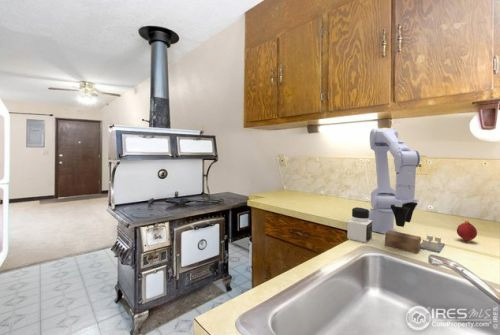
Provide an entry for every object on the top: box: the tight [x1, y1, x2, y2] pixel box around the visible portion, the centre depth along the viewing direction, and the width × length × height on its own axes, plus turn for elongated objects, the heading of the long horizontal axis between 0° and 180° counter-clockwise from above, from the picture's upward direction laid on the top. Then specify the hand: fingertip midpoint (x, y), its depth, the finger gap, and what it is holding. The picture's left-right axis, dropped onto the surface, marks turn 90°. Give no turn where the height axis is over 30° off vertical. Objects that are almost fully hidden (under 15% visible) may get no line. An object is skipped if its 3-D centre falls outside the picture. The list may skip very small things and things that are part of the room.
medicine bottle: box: [347, 206, 373, 244], centre depth 98 cm, size 7×7×12 cm
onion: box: [456, 220, 478, 242], centre depth 95 cm, size 6×6×8 cm
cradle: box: [420, 234, 446, 254], centre depth 90 cm, size 10×6×3 cm, turn 134°
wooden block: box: [384, 230, 422, 255], centre depth 89 cm, size 10×4×5 cm, turn 44°
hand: (403, 223), depth 88 cm, fingers open, 7 cm apart
